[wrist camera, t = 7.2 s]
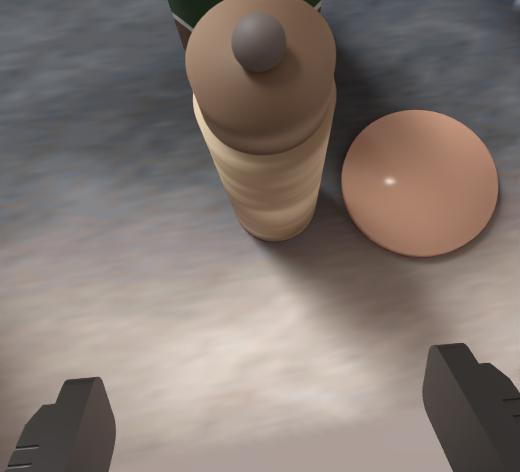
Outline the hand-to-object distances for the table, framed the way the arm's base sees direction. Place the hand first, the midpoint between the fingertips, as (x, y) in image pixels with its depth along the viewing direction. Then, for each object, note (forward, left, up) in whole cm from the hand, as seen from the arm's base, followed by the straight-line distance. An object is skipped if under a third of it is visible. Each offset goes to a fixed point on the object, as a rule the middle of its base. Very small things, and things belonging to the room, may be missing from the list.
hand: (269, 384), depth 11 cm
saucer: (+5, +11, -12) cm, 17 cm away
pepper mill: (-2, +8, -12) cm, 15 cm away
